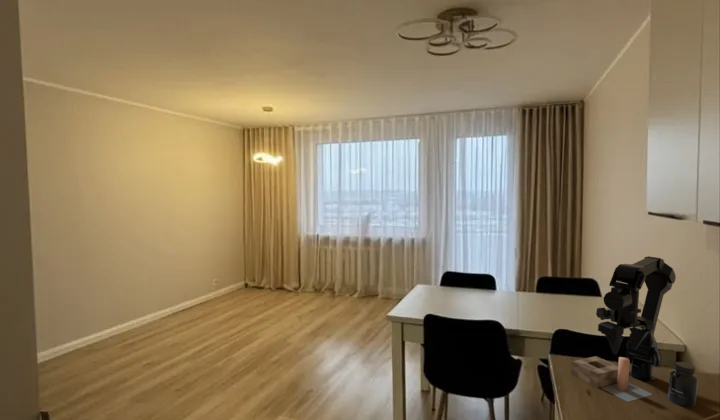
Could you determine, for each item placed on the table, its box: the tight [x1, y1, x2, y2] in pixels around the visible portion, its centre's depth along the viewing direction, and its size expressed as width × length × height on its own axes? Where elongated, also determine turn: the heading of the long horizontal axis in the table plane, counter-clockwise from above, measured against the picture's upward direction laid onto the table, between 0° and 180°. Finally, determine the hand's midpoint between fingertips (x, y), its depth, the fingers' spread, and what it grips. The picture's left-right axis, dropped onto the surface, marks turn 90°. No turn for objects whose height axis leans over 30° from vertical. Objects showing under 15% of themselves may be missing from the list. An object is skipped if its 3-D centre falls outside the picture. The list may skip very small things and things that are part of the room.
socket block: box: [570, 355, 618, 389], centre depth 144 cm, size 12×10×5 cm
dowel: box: [616, 356, 631, 391], centre depth 136 cm, size 3×3×10 cm
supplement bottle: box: [667, 361, 699, 408], centre depth 129 cm, size 7×7×12 cm
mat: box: [601, 382, 653, 402], centre depth 135 cm, size 12×9×1 cm
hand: (624, 351), depth 135 cm, fingers open, 9 cm apart
